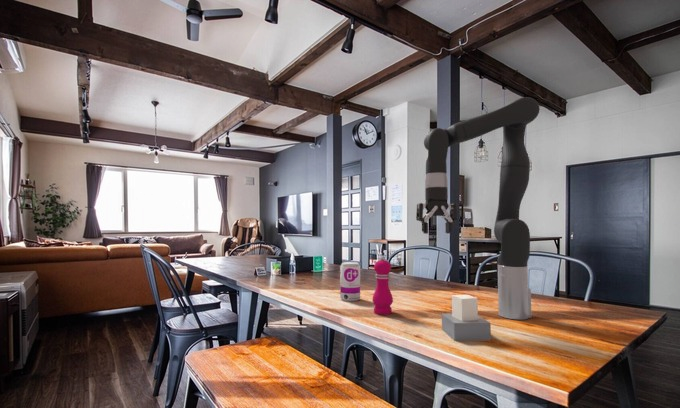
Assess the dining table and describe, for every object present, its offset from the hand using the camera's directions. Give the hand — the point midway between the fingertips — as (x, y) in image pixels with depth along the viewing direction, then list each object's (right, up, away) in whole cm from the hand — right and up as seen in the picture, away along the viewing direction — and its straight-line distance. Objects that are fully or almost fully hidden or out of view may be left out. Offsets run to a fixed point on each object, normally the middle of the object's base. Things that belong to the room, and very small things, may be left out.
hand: (436, 233), depth 120 cm
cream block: (+2, -22, -21) cm, 31 cm away
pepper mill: (-18, -28, +3) cm, 34 cm away
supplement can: (-29, -30, +24) cm, 48 cm away
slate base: (+2, -27, -21) cm, 35 cm away
